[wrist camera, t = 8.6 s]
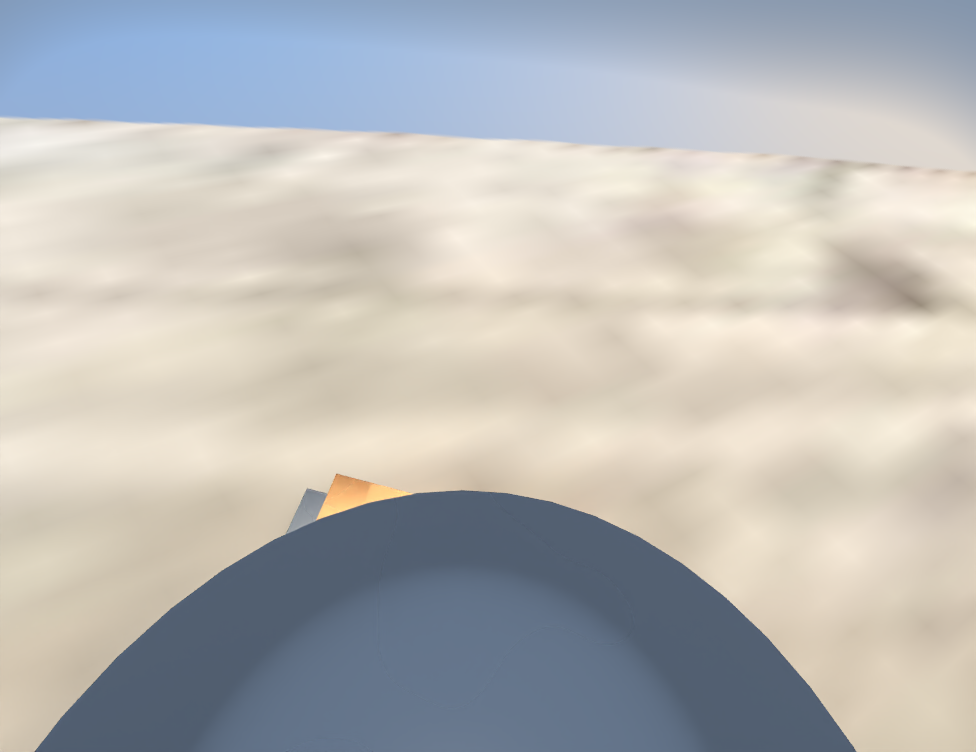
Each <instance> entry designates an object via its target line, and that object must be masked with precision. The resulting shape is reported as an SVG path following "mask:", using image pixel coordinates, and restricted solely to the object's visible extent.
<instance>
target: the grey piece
mask: <svg viewBox="0 0 976 752" xmlns="http://www.w3.org/2000/svg"><path fill="white" fill-rule="evenodd" d="M35 752H856V751H855V749H854V747H853V746H852V744H851V743H850V742H849V740H848V739H847V737H846V736H845V735H844V733H843V732H842V731H841V729H840V728H839V726H838V725H837V724H836V722H835V721H834V719H833V718H832V717H831V715H830V714H829V712H828V711H827V710H826V708H825V707H824V706H823V704H822V703H821V701H820V700H819V699H818V697H817V696H816V694H815V693H814V692H813V690H812V689H811V688H810V686H809V685H808V684H807V683H806V682H805V681H804V679H803V678H802V677H801V676H800V675H799V674H798V673H797V671H796V670H795V669H794V668H793V667H792V666H791V664H790V663H789V662H788V661H787V660H786V659H785V657H784V656H783V655H782V654H781V653H780V652H779V650H778V649H777V648H776V647H775V646H774V645H773V644H772V642H771V641H770V640H769V639H768V638H767V637H766V636H765V635H764V634H763V633H762V632H761V631H760V630H759V629H758V628H757V627H756V626H755V625H754V624H753V623H751V622H750V621H749V620H748V619H747V618H746V617H745V616H744V615H743V614H742V613H741V612H740V611H739V610H738V609H737V608H736V607H735V606H734V605H733V604H732V603H731V602H730V601H729V600H727V599H726V598H725V597H724V596H723V595H722V594H720V593H719V592H718V591H717V590H715V589H714V588H713V587H711V586H710V585H709V584H708V583H706V582H705V581H704V580H702V579H701V578H700V577H699V576H697V575H696V574H695V573H693V572H692V571H691V570H690V569H688V568H687V567H686V566H684V565H683V564H682V563H680V562H679V561H677V560H675V559H674V558H672V557H671V556H669V555H667V554H666V553H664V552H663V551H661V550H659V549H658V548H656V547H654V546H653V545H651V544H650V543H648V542H646V541H645V540H643V539H642V538H640V537H638V536H636V535H634V534H632V533H630V532H628V531H625V530H623V529H621V528H619V527H617V526H615V525H613V524H610V523H608V522H606V521H604V520H602V519H600V518H598V517H596V516H593V515H590V514H587V513H584V512H581V511H577V510H574V509H571V508H568V507H565V506H562V505H559V504H556V503H553V502H549V501H544V500H539V499H534V498H529V497H524V496H518V495H513V494H508V493H494V492H479V491H463V490H461V491H446V492H430V493H416V494H411V495H406V496H400V497H395V498H390V499H385V500H380V501H375V502H370V503H366V504H363V505H360V506H357V507H354V508H351V509H348V510H345V511H342V512H339V513H335V514H332V515H329V516H326V517H323V518H321V519H318V520H316V521H314V522H312V523H310V524H307V525H305V526H303V527H301V528H299V529H297V530H294V531H292V532H290V533H288V534H286V535H283V536H281V537H279V538H277V539H275V540H273V541H271V542H269V543H268V544H266V545H264V546H263V547H261V548H259V549H258V550H256V551H254V552H252V553H251V554H249V555H247V556H246V557H244V558H242V559H241V560H239V561H237V562H236V563H234V564H232V565H231V566H229V567H227V568H226V569H224V570H222V571H221V572H220V573H218V574H217V575H216V576H214V577H213V578H212V579H210V580H209V581H208V582H206V583H205V584H204V585H202V586H201V587H200V588H198V589H197V590H195V591H194V592H193V593H191V594H190V595H189V596H187V597H186V598H185V599H183V600H182V601H181V602H179V603H178V604H177V605H175V606H174V607H173V608H171V609H170V610H169V611H168V612H167V613H166V614H165V615H163V616H162V617H161V618H160V619H159V620H158V621H157V622H156V623H155V624H154V625H152V626H151V627H150V628H149V629H148V630H147V631H146V632H145V633H144V634H142V635H141V636H140V637H139V638H138V639H137V640H136V641H135V642H134V643H132V644H131V645H130V646H129V647H128V648H127V649H126V650H125V651H124V652H123V653H121V654H120V655H119V656H118V657H117V658H116V659H115V660H114V661H113V662H112V663H111V665H110V666H109V667H108V668H107V669H106V670H105V671H104V672H103V673H102V674H101V675H100V676H99V678H98V679H97V680H96V681H95V682H94V683H93V684H92V685H91V686H90V687H89V688H88V689H87V690H86V692H85V693H84V694H83V695H82V696H81V697H80V698H79V699H78V700H77V701H76V702H75V703H74V704H73V706H72V707H71V708H70V709H69V710H68V711H67V712H66V713H65V714H64V715H63V716H62V718H61V719H60V720H59V721H58V723H57V724H56V725H55V726H54V728H53V729H52V730H51V732H50V733H49V734H48V735H47V737H46V738H45V739H44V741H43V742H42V743H41V744H40V746H39V747H38V748H37V749H36V751H35Z"/></svg>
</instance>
